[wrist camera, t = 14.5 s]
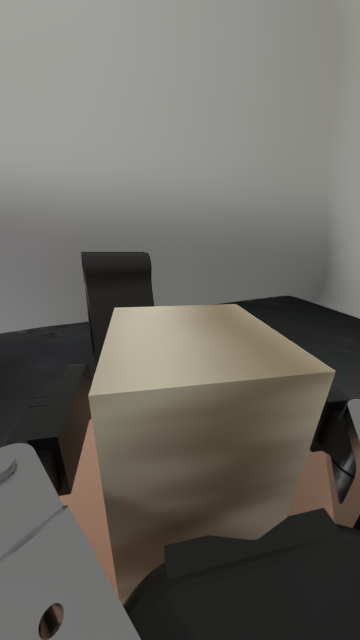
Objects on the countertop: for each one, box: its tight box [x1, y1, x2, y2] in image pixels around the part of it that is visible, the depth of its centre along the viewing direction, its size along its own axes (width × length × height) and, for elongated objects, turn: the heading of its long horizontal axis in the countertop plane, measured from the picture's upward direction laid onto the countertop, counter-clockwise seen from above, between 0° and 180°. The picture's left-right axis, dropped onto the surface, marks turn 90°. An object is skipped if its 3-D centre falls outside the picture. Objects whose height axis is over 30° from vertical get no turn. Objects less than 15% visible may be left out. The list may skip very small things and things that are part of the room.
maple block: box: [88, 304, 336, 605], centre depth 9 cm, size 5×5×10 cm
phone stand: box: [81, 252, 154, 368], centre depth 22 cm, size 9×6×12 cm, turn 26°
